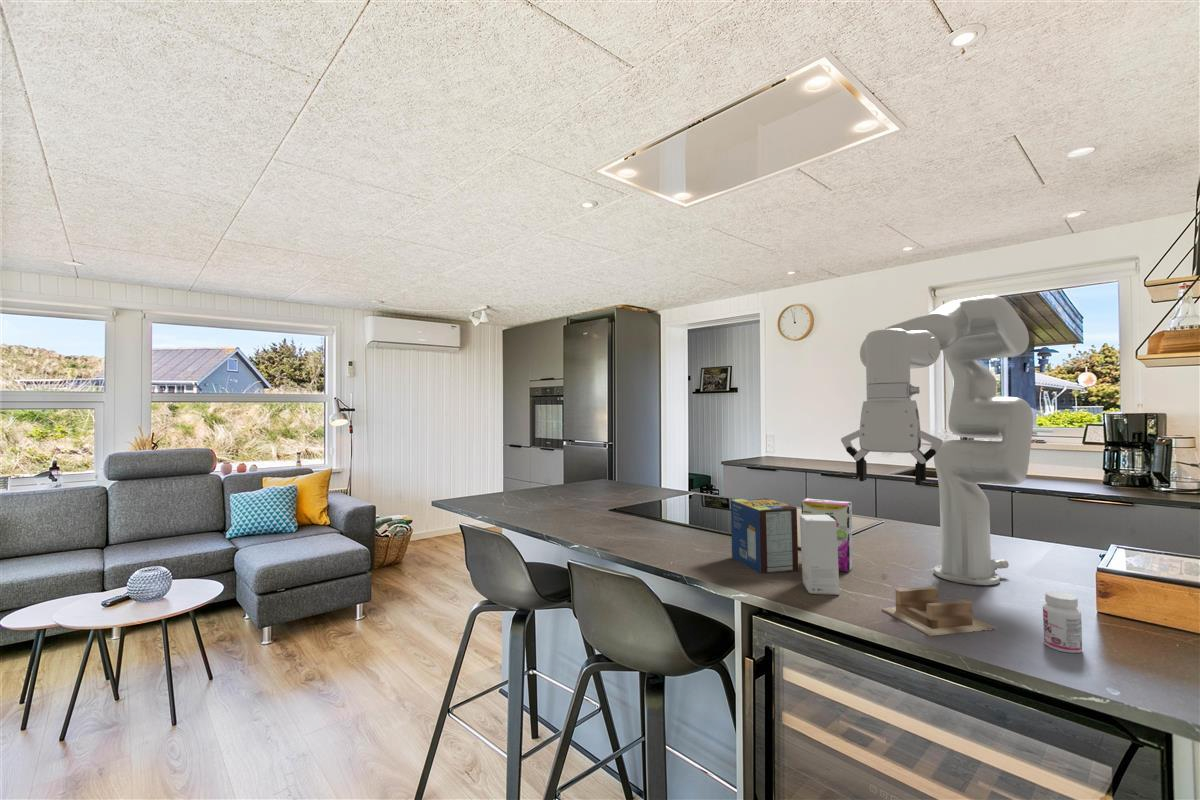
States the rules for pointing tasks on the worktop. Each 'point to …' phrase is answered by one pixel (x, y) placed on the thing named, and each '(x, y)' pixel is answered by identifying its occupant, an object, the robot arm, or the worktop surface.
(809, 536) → the skincare box
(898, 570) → the worktop surface
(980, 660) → the worktop surface
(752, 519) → the protein box
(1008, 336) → the robot arm
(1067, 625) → the pill bottle
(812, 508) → the candy bar box
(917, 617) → the cradle
